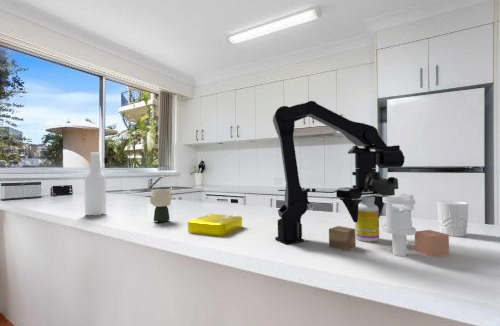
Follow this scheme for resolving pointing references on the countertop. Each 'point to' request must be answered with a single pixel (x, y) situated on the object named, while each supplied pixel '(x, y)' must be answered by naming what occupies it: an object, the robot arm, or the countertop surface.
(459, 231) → the white cup
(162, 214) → the cream and green figurine
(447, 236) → the terracotta block
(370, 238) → the supplement bottle
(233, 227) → the element tile
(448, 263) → the countertop surface
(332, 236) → the walnut block
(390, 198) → the white stepped column
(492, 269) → the countertop surface
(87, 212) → the alcohol
